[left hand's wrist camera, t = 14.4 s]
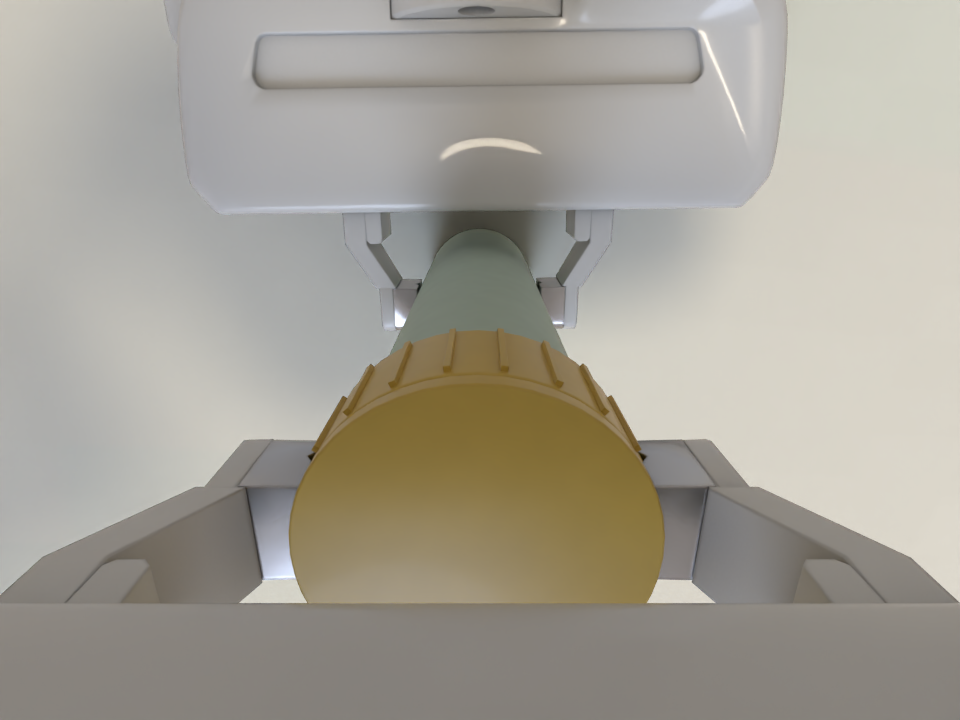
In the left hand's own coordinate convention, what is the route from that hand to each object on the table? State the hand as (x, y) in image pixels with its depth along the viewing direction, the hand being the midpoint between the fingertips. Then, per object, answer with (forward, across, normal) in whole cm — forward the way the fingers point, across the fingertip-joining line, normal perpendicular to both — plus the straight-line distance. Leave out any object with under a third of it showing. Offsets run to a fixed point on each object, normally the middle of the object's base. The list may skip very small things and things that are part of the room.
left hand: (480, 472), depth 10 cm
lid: (-2, 0, 0) cm, 2 cm away
